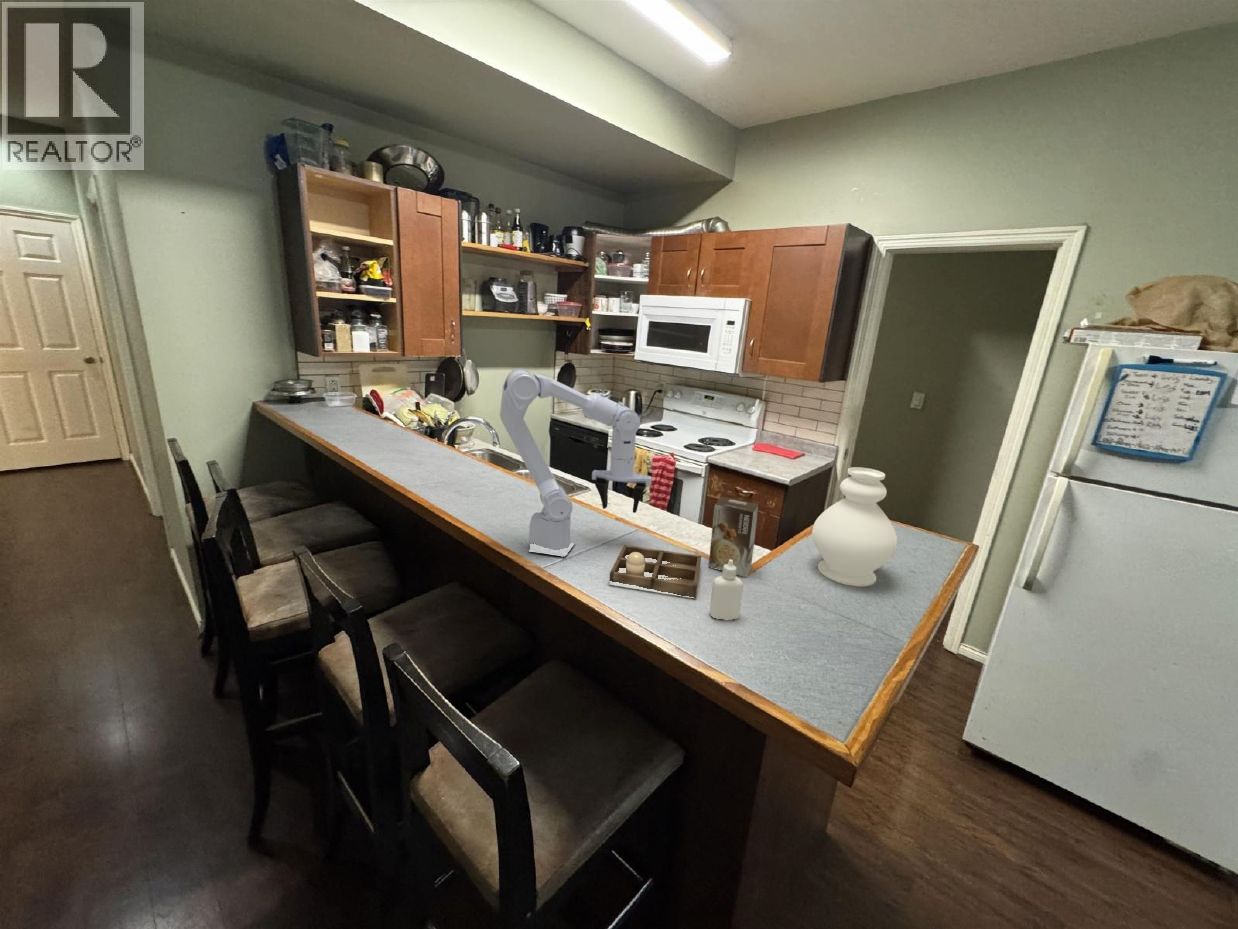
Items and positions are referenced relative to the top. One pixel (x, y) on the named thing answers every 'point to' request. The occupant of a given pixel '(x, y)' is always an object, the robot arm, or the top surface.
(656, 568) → the crate
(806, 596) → the top surface
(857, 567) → the decorative vase
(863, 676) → the top surface
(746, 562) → the coffee box
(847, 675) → the top surface
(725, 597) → the eye dropper bottle
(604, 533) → the top surface
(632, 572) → the cylinder
